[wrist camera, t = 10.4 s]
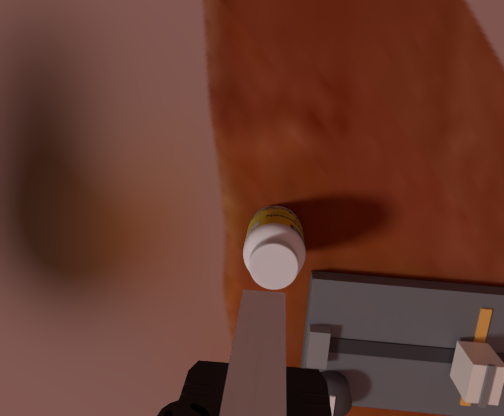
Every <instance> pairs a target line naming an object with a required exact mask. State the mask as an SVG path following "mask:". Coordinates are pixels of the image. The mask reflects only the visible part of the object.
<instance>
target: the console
mask: <svg viewBox="0 0 504 416" xmlns="http://www.w3.org/2000/svg"><path fill="white" fill-rule="evenodd" d="M457 341H467V342H478V343H488V344H489V345H490V346H491V348H492V349H493V350H494V351H495V353H496V354H497V355H498V357H499V358H500V359H501V360H502V362H503V363H504V287H494V286H483V285H471V284H460V283H448V282H436V281H425V280H413V279H402V278H390V277H379V276H367V275H356V274H344V273H332V272H321V271H311V277H310V287H309V296H308V305H307V314H306V323H305V332H304V341H303V350H302V359H301V368H308V369H318V370H319V371H320V372H321V374H322V375H323V377H324V378H325V379H326V381H327V385H328V392H329V399H330V407H331V413H332V416H345V415H346V414H347V413H348V412H349V411H350V409H351V407H352V406H361V407H372V408H382V409H392V410H402V411H412V412H423V413H433V414H443V415H453V416H504V384H503V388H502V392H501V396H500V400H499V404H498V406H497V405H486V408H479V407H478V404H477V403H467V402H465V401H464V400H463V398H462V396H461V395H460V393H459V391H458V389H457V388H456V386H455V384H454V382H453V381H452V379H451V377H450V372H451V367H452V363H453V358H454V353H455V348H456V344H457Z"/></svg>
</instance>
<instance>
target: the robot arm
mask: <svg viewBox="0 0 504 416" xmlns="http://www.w3.org/2000/svg"><path fill="white" fill-rule="evenodd" d="M157 416H332V413H331V407H330V399H329V392H328V385H327V381H326V379H325V378H324V377H323V375H322V374H321V372H320V371H319V370H318V369H308V368H296V367H286V309H285V293H280V292H267V291H253V290H243V293H242V298H241V304H240V309H239V314H238V319H237V325H236V330H235V335H234V340H233V346H232V351H231V356H230V361H229V363H221V362H210V361H198V362H197V363H196V364H195V365H194V366H193V367H192V368H191V369H190V370H189V371H188V374H187V377H186V380H185V383H184V386H183V389H182V393H181V396H180V399H179V400H178V401H175V402H172V403H170V404H168V405H167V406H165V407H164V408H162V409H161V411H160V412H159V414H158V415H157Z"/></svg>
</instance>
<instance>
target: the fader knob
mask: <svg viewBox="0 0 504 416" xmlns="http://www.w3.org/2000/svg"><path fill="white" fill-rule="evenodd" d="M450 377H451V379H452V381H453V382H454V384H455V386H456V388H457V389H458V391H459V393H460V395H461V396H462V398H463V400H464V401H465V402H467V403H477V404H478V407H479V408H486V405H497V406H498V404H499V400H500V396H501V392H502V388H503V384H504V363H503V362H502V360H501V359H500V358H499V357H498V355H497V354H496V353H495V351H494V350H493V349H492V348H491V346H490V345H489V344H488V343H478V342H467V341H457V344H456V348H455V353H454V358H453V363H452V367H451V372H450Z"/></svg>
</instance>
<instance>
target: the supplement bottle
mask: <svg viewBox="0 0 504 416" xmlns="http://www.w3.org/2000/svg"><path fill="white" fill-rule="evenodd" d="M305 253H306V251H305V244H304V236H303V229H302V225H301V223H300V220H299V219H298V217H297V216H296V215H295V214H294V213H293V212H292V211H291V210H289V209H287V208H285V207H281V206H269V207H266V208H263V209H261V210H260V211H258V212H257V213H256V214H255V215H254V217H253V218H252V220H251V222H250V224H249V227H248V231H247V236H246V240H245V244H244V250H243V257H244V262H245V265H246V267H247V269H248V270H249V272H250V274H251V276H252V278H253V279H254V280H255V282H256V283H258V284H259V285H260V286H262V287H264V288H267V289H281V288H284V287H286V286H288V285H290V284H291V283H292V282H293V281H294V279H295V278H296V276H297V274H298V273H299V271H300V270H301V268H302V266H303V264H304V261H305Z"/></svg>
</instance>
